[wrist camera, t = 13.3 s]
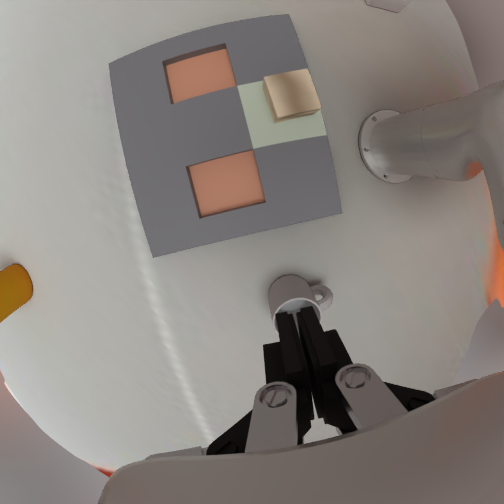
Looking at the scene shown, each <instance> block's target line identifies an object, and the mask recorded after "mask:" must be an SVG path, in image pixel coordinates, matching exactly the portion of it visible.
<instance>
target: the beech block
mask: <svg viewBox="0 0 504 504" xmlns="http://www.w3.org/2000/svg"><path fill="white" fill-rule="evenodd" d="M262 88H263V91H264V93H265V96H266V99H267V102H268V105H269V108H270V111H271V114H272V117H273V120H274V123H278V122H282V121H286V120H290V119H295V118H299V117H304V116H308V115H313V114H315V113H316V112H317V111H319V110H320V109H321V105H320V102H319V99H318V96H317V93H316V90H315V87H314V85H313V82H312V79H311V77H310V74H309V71H308V69H301V70H295V71H290V72H285V73H280V74H275V75H270V76H266V77H264V79H263V85H262Z"/></svg>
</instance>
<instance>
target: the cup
mask: <svg viewBox="0 0 504 504" xmlns="http://www.w3.org/2000/svg"><path fill="white" fill-rule="evenodd" d="M314 295H322V296H323V298H322V299H321V300H319V301H316V299H315V297H314ZM332 301H333V293H332V292H331V290H330V289H329V288H328V287H326V286H324V285H315V286H311V287H309V285H308V283H307V282H306V281H305V280H304V279H302V278H301V277H299V276H295V275H287V276H283V277H281V278H279V279H277V280H276V281H275V282H274V283H273V284H272V286H271V287H270V290H269V304H270V310H271V317H272V323H273V327H274V330H275V331H276V333H277V334H278V335H279V333H278V327H277V322H276V316H275V313H280V312H285V311H287V313H288V314H291V313H292V314H293V317H294V320H295V324H296V327H297V331H298V334H299V329H298V323H297V316H296V312H300V308H304V307H308V306H313V308H314V311H315V313H316V315H317V317H318V320H319V322H320V324H321V323H322V318H323V317H322V310H325V309H326V308H328V307H329V306H330V305H331V304H332ZM299 337H300V336H299Z"/></svg>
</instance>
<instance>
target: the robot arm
mask: <svg viewBox="0 0 504 504" xmlns="http://www.w3.org/2000/svg"><path fill="white" fill-rule="evenodd" d="M372 119H373V120H372ZM359 148H360V153H361V156H362V159H363V161H364V163H365V165H366V166H367V168H368V169H369V170H370V172H371V173H373V174H374V175H375V176H376V177H377V178H379V179H381V180H383V181H385V182H389V183H402V182H405V181H407V180H409V179H411V178H412V177H413V176H420V177H429V178H437V179H444V180H453V181H466V180H469V179H471V178H473V177H475V176H476V175H477V174H479V173H480V172H481V171H482V170H484V173H485V177H486V180H487V184H488V187H489V191H490V196H491V200H492V205H493V211H494V217H495V222H496V228H497V234H498V239H499V242H500V245H501V248H502V249H503V251H504V80H502V81H499V82H496V83H493V84H491V85H488V86H486V87H484V88H482V89H480V90H478V91H476V92H474V93H471V94H469V95H466V96H464V97H461V98H458V99H454V100H451V101H447V102H444V103H440V104H436V105H432V106H428V107H424V108H420V109H417V110H413V111H410V112H406V113H403V114H401V113H399V112H397V111H394V110H380V111H377V112H375V113H373V114H371V115H370V116H369V117H368V118H367V119H366V120H365V121H364V123H363V125H362V127H361V130H360V134H359ZM364 148H365V151H364ZM384 175H385V177H384ZM275 316H276V322H277V327H278V333H279V338H280V342H276V343H271V344H265V345H263V351H264V362H265V374H266V385H264V386H263V387H261V388H260V389H259V390H258V391H257V393H256V395H255V399H254V405H253V409H252V410H251V411H250V412H249V413H248V414H247V415H245V416H244V417H243V418H242V419H241V420H239V421H238V422H237V423H236V424H235V425H233V426H232V427H231V428H230V429H228V430H227V431H226V432H225V433H223V434H222V435H221V436H220V437H218V438H217V439H216V440H215V441H213V442H212V443H211V444H210V445H209V447H206V448H202V447H201V446H199V447H194V448H189V449H184V450H178V451H172V452H165V453H158V454H154V455H150V456H149V457H147V458H146V459H145V460H142V461H138V462H133V463H130V464H127V465H125V466H123V467H121V468H119V469H117V470H116V471H115V472H114V473H113V474H112V475H111V477H110V478H109V480H108V481H107V483H106V485H105V487H104V489H103V491H102V494H101V496H100V498H99V501H98V504H504V371H503V372H498V373H494V374H491V375H488V376H485V377H482V378H480V379H474V380H470V381H467V382H464V383H461V384H457V385H454V386H450V387H447V388H443V389H439V390H435V391H434V394H430V393H427V392H425V391H420V390H416V389H411V388H407V387H403V386H399V385H394V384H390V383H386V382H383V381H382V380H381V379H380V377H379V376H378V375H377V374H376V373H375V371H374V370H373V369H372V368H371V367H369V366H367V365H365V364H359V363H358V364H353V363H352V361H351V358H350V356H349V354H348V352H347V350H346V348H345V346H344V344H343V342H342V340H341V339H340V337H339V335H338V333H337V331H336V330H335V329H334V330H330V331H326V332H324V331H323V329H322V326H321V324H320V322H319V320H318V317H317V315H316V313H315V311H314V308H313V306H308V307H304V308H300V312H296V316H297V323H298V329H299V334H298V331H297V327H296V324H295V320H294V317H293V314H292V313H291V314H288V313H287V311H285V312H280V313H275ZM299 336H300V337H299ZM311 392H312V393H311ZM312 396H313V400H314V404H315V408H316V411H317V415H318V418H323V419H324V422H325V424H330V425H332V426H335V427H336V430H337V433H338V435H339V436H336V437H332V438H328V439H324V440H320V441H315V442H311V443H306V444H304V435H305V434H306V433H307V432H308V431H309V429H310V428H311V421H310V420H314V411H313V402H312Z"/></svg>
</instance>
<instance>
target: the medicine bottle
mask: <svg viewBox="0 0 504 504" xmlns="http://www.w3.org/2000/svg"><path fill="white" fill-rule="evenodd" d="M411 1H412V0H366V3H367V5H369V6H373V7H378V8H382V9H385V10H389V11H393V12H396V13H398V12H399V11H401V10H402V9H403V8H404V7H405V6H406V5H407V4H409V3H410V2H411Z"/></svg>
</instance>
